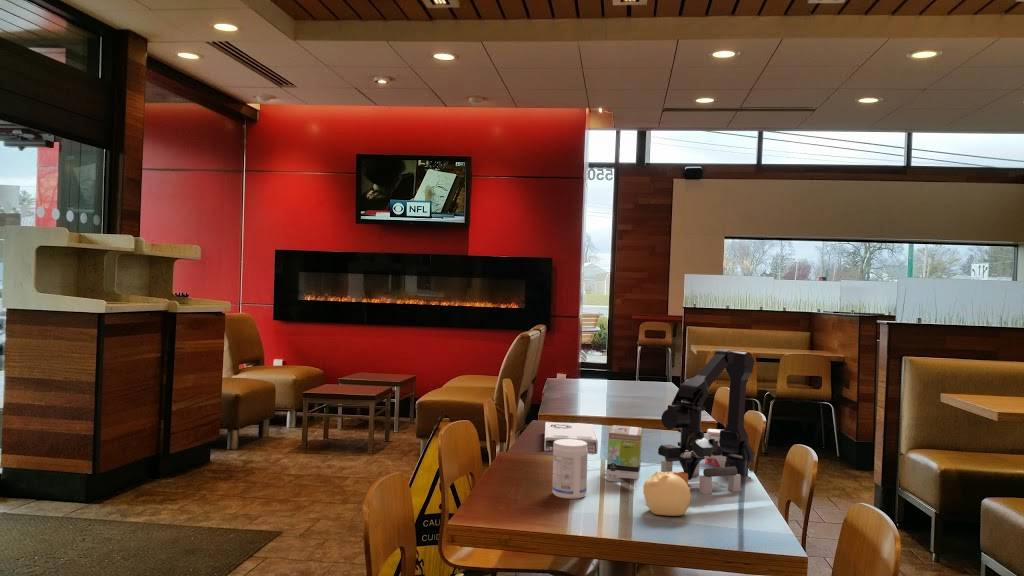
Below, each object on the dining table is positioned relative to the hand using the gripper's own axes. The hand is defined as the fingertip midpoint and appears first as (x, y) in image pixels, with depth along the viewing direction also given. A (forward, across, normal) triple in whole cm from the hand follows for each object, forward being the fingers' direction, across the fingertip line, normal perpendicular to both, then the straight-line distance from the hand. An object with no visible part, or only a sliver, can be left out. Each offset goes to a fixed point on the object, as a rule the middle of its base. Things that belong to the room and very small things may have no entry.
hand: (688, 479), depth 215 cm
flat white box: (+3, -5, +68) cm, 68 cm away
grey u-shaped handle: (+3, +4, +10) cm, 11 cm away
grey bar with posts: (+3, +4, -9) cm, 10 cm away
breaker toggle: (+1, -3, 0) cm, 3 cm away
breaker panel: (+3, +1, 0) cm, 3 cm away
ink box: (+3, +28, +22) cm, 36 cm away
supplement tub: (+3, -38, +3) cm, 38 cm away
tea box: (+3, -12, +17) cm, 21 cm away
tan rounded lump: (+3, -21, -19) cm, 28 cm away
